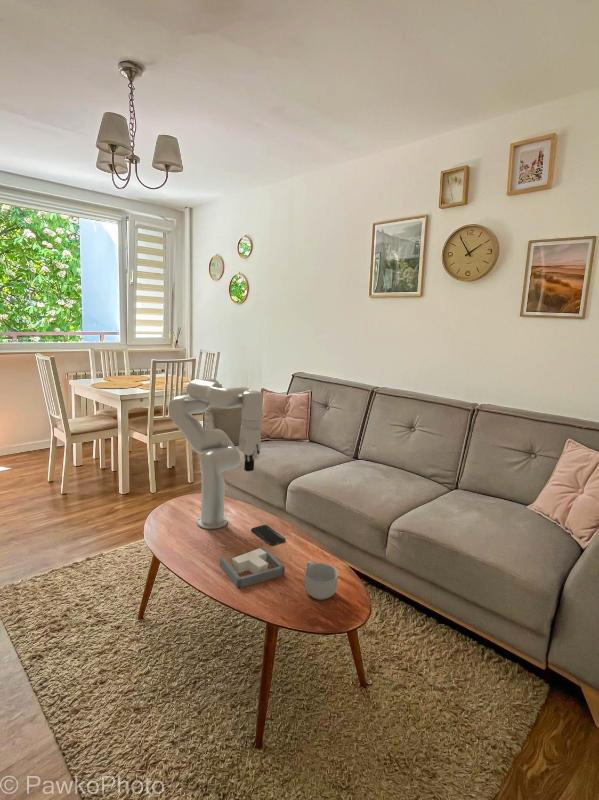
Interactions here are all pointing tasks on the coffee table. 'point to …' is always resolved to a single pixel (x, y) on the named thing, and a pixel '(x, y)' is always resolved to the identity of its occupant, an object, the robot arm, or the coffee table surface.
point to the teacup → (320, 580)
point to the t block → (250, 562)
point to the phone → (268, 534)
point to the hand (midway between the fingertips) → (248, 470)
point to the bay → (256, 577)
